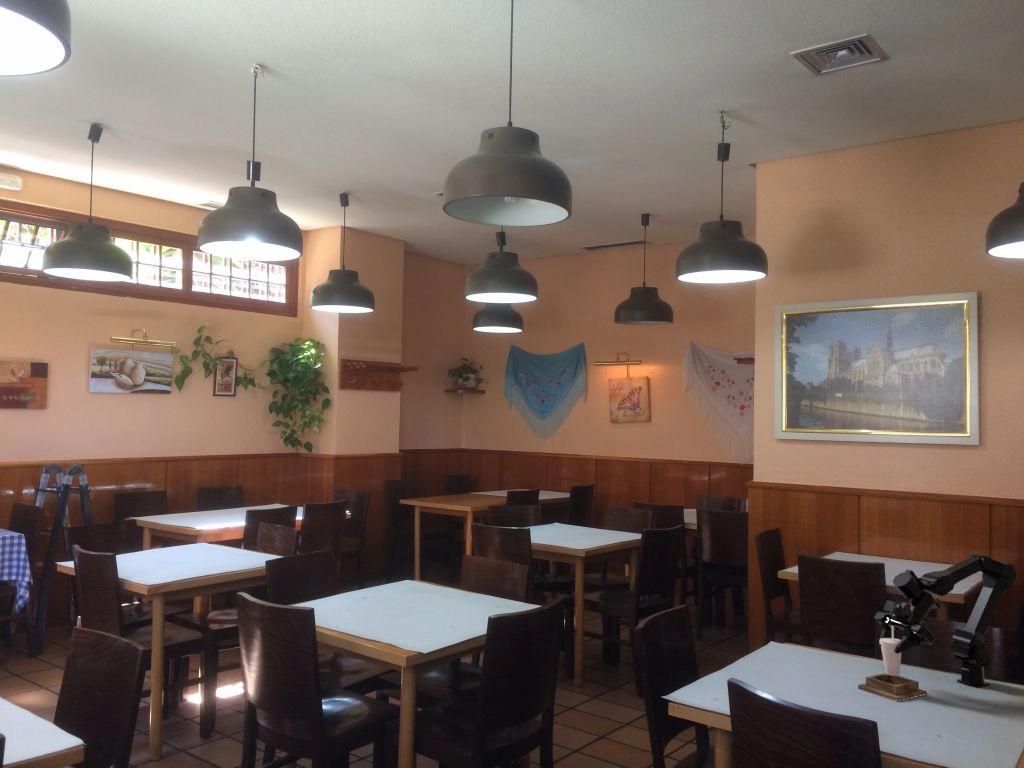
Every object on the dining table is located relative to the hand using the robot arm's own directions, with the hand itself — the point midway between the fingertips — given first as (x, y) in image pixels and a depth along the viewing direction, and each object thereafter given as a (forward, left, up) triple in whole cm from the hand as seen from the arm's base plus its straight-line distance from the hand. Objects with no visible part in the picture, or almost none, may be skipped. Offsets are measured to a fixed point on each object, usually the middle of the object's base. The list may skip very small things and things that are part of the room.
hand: (887, 649), depth 231 cm
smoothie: (-1, 0, -7) cm, 7 cm away
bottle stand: (-1, 0, -12) cm, 12 cm away
